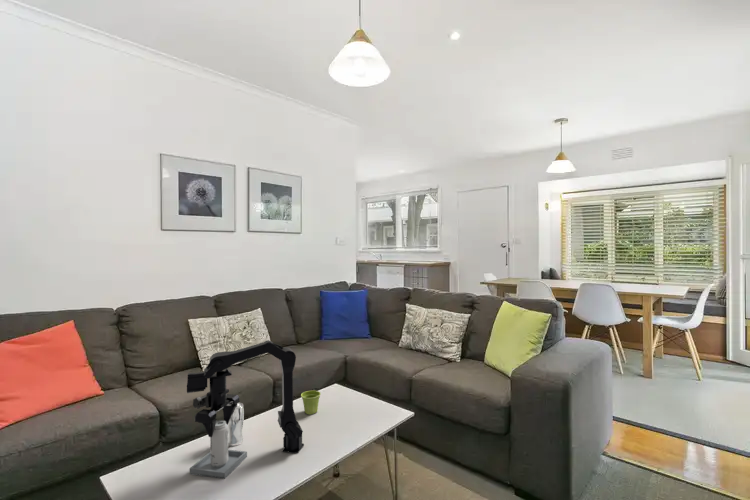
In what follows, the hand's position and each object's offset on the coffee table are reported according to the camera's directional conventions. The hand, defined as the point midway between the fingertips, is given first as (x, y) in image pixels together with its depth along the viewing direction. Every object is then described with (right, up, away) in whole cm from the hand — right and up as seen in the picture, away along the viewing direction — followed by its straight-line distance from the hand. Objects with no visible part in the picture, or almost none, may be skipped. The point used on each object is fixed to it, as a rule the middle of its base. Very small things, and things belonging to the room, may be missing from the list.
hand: (218, 430), depth 138 cm
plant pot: (+26, -12, +44) cm, 53 cm away
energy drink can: (0, -12, 0) cm, 12 cm away
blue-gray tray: (0, -13, 0) cm, 13 cm away
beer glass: (0, -13, +16) cm, 21 cm away
